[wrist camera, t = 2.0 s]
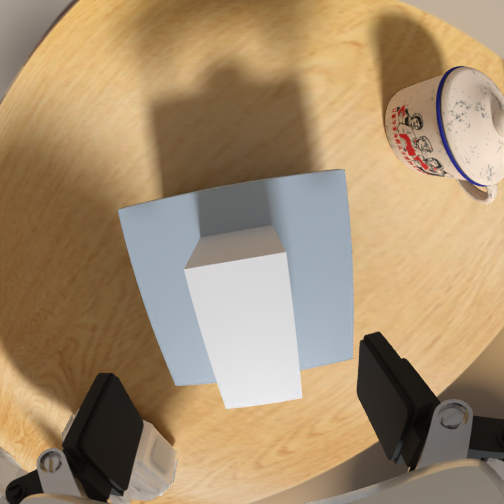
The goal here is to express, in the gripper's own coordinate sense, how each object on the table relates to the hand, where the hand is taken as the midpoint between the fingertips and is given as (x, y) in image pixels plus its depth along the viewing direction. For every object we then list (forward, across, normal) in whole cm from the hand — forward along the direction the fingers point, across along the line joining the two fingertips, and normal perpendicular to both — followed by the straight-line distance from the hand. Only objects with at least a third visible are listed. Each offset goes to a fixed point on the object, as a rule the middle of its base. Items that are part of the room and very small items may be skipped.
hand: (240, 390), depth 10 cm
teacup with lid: (+16, -20, -8) cm, 27 cm away
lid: (+9, -1, 0) cm, 9 cm away
